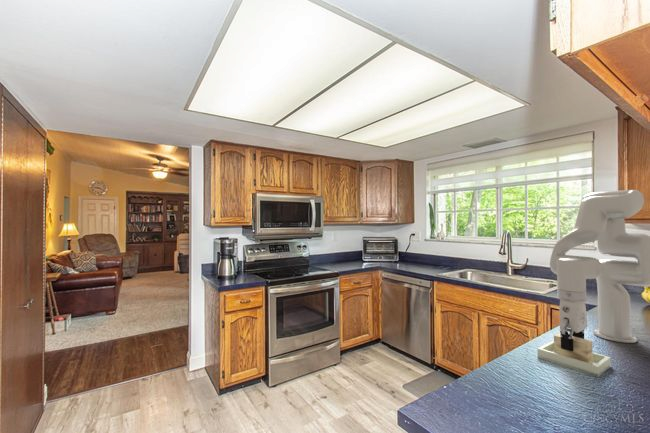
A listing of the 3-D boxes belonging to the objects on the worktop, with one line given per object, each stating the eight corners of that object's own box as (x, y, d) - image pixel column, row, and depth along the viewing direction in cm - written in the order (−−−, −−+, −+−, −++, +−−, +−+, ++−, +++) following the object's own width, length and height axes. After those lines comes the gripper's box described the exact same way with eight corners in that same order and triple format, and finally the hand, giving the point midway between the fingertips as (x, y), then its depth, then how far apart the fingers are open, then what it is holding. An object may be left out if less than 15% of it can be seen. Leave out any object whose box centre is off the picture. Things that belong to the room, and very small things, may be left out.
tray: (552, 349, 110) (552, 340, 110) (610, 366, 96) (610, 357, 96) (537, 357, 103) (537, 348, 103) (598, 377, 90) (598, 367, 90)
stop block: (592, 362, 98) (592, 341, 98) (588, 366, 95) (587, 344, 95) (559, 352, 105) (559, 332, 105) (554, 355, 103) (553, 335, 103)
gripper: (575, 301, 92) (577, 357, 92) (594, 293, 102) (596, 344, 102) (547, 296, 99) (548, 348, 99) (567, 289, 108) (569, 337, 108)
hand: (572, 346), depth 100 cm, fingers open, 9 cm apart
